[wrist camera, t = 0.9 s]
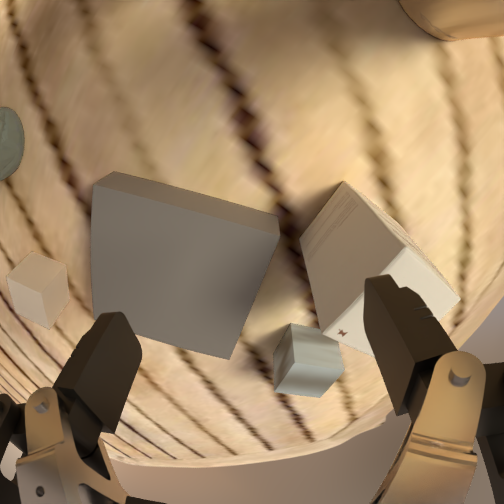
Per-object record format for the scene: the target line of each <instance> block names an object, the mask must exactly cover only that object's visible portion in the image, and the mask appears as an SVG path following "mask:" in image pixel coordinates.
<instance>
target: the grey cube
mask: <svg viewBox="0 0 504 504" xmlns="http://www.w3.org/2000/svg"><path fill="white" fill-rule="evenodd" d="M273 364H274V392H279V393H285V394H293V395H300V396H309V397H318V398H320V397H321V396H322V395H323V394H324V393H325V392H326V391H327V390H328V389H329V387H330V386H331V385H332V384H333V383H334V382H335V381H336V380H337V378H338V377H339V376H340V375H341V374H342V373H343V371H344V370H345V369H344V365H343V360H342V356H341V352H340V348H339V344H338V341H336V340H334V339H332V338H329V337H327V336H325V335H322V333H321V329H316V328H312V327H307V326H302V325H298V324H293V323H291V324H290V325H289V327H288V329H287V331H286V333H285V334H284V336H283V338H282V340H281V342H280V343H279V345H278V347H277V349H276V350H275V352H274V354H273Z"/></svg>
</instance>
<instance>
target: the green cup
mask: <svg viewBox="0 0 504 504" xmlns="http://www.w3.org/2000/svg"><path fill="white" fill-rule="evenodd" d="M23 152H24V131H23V127H22V124H21V121H20V119H19V117H18V115H17V114H16V113H15V112H14V111H13V110H12V109H10V108H5V107H1V108H0V181H1V180H3V179H5V178H6V177H8V176H10V175H11V174H12V173H14V172H15V171H16V169H17V168H18V166H19V165H20V162H21V160H22V156H23Z"/></svg>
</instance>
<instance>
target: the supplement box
mask: <svg viewBox="0 0 504 504" xmlns="http://www.w3.org/2000/svg"><path fill="white" fill-rule="evenodd" d="M299 241H300V245H301V249H302V253H303V257H304V261H305V265H306V269H307V273H308V277H309V281H310V285H311V290H312V294H313V298H314V302H315V307H316V311H317V315H318V320H319V325H320V329H321V333H322V335H325V336H327V337H329V338H332V339H334V340H336V341H338V342H340V343H342V344H344V345H347V346H349V347H351V348H354V349H356V350H358V351H360V352H363V353H365V354H367V355H370V356H372V357H374V358H375V356H374V354H373V351H372V349H371V346H370V344H369V341H368V339H367V336H366V334H365V330H364V323H363V310H364V284H365V279H366V278H369V277H374V276H379V275H385V274H390V275H391V276H392V278H393V279H394V281H395V282H396V283H397V285H398V286H399V288H401V287H406V286H407V287H408V288H410V289H411V290H413V291H414V292H416V293H418V294H419V295H420V296H421V298H422V299H423V301H424V302H425V303H426V305H427V308H428V307H429V309H430V310H431V312H432V313H433V316H434V317H436V319H437V320H438V322H439V321H440V320H441V319H442V318H443V317H444V316H445V315H446V314H447V313H448V312H449V311H450V310H451V309H452V308H453V307H454V306H455V305H456V304H457V303H458V302H459V301H460V299H461V298H460V297H459V295H458V294H457V293H456V291H455V290H454V289H453V287H452V286H451V285H450V284H449V282H448V281H447V280H446V279H445V277H444V276H443V275H442V274H441V272H440V271H439V270H438V269H437V268H436V266H435V265H434V264H433V263H432V262H431V261H430V259H429V258H428V257H427V256H426V255H425V254H424V252H423V251H422V250H421V249H420V248H419V246H418V245H417V244H416V243H415V242H414V241H413V239H412V238H411V237H410V236H409V235H408V234H407V233H406V231H405V230H404V229H403V228H402V227H401V226H400V225H399V224H398V223H397V222H396V221H395V220H394V219H393V218H391V217H390V216H389V215H388V214H387V213H385V212H384V211H383V210H382V209H381V208H379V207H378V206H377V205H376V204H374V203H373V202H372V201H371V200H369V199H368V198H367V197H366V196H364V195H363V194H362V193H360V192H359V191H358V190H356V189H355V188H354V187H353V186H351V185H350V184H348V183H347V182H345V181H343V182H342V184H341V185H340V186H339V188H338V189H337V190H336V191H335V193H334V194H333V195H332V197H331V198H330V199H329V200H328V202H327V203H326V204H325V206H324V207H323V208H322V210H321V211H320V212H319V214H318V215H317V216H316V217H315V219H314V220H313V221H312V223H311V224H310V225H309V227H308V228H307V229H306V230H305V232H304V233H303V234H302V236H301V237H300V238H299Z"/></svg>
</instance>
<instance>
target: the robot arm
mask: <svg viewBox="0 0 504 504" xmlns="http://www.w3.org/2000/svg"><path fill="white" fill-rule="evenodd" d="M398 1H399V3H400V4H401V6H402V7H403V9H404V11H405V12H406V13H407V14H408V16H409V17H410V18H411V19H412V20H413V21H414V22H415V23H416V24H417V25H418V26H419V27H420V28H422V29H423V30H424V31H426V32H427V33H429V34H431V35H432V36H434V37H436V38H439V39H442V40H447V41H456V40H464V39H473V38H485V37H499V36H504V0H398ZM363 323H364V330H365V334H366V336H367V339H368V341H369V344H370V346H371V349H372V351H373V354H374V356H375V359H376V361H377V364H378V367H379V369H380V372H381V374H382V377H383V380H384V382H385V385H386V388H387V390H388V393H389V396H390V399H391V402H392V404H393V407H394V410H395V413H396V416H399V415H403V414H406V413H409V415H410V418H411V424H410V426H409V428H408V430H407V433H406V435H405V438H404V440H403V442H402V444H401V447H400V449H399V451H398V453H397V455H396V457H395V460H394V461H393V463H392V465H391V467H390V469H389V471H388V473H387V475H386V477H385V479H384V480H383V482H382V484H381V485H380V487H379V489H378V490H377V492H376V494H375V495H374V497H373V498H372V500H371V502H370V503H369V504H464V502H465V499H466V496H467V494H468V491H469V488H470V485H471V482H472V479H473V476H474V473H475V469H476V466H477V454H476V453H473V443H474V440H475V437H476V438H477V441H478V444H479V446H480V450H481V453H482V456H483V459H484V462H485V465H486V469H487V472H488V476H489V479H490V483H491V487H492V490H493V495H494V499H495V503H496V504H504V362H502V363H493V364H482V362H481V361H480V360H479V359H478V358H477V357H476V356H474V355H472V354H470V353H467V352H463V351H458V350H457V349H456V347H455V346H454V344H453V343H452V341H451V340H450V338H449V336H448V335H447V333H446V332H445V330H444V329H443V328H442V326H441V325H440V323H439V322H438V320H437V319H436V317H434V316H433V313H432V312H431V310H430V309H429V307H428V308H427V305H426V303H425V302H424V301H423V299H422V298H421V296H420V295H419V294H418V293H416V292H414V291H413V290H411V289H410V288H408V287H407V286H406V287H401V288H399V286H398V285H397V283H396V282H395V281H394V279H393V278H392V276H391V275H390V274H385V275H379V276H374V277H369V278H366V279H365V284H364V310H363ZM141 360H142V349H141V345H140V343H139V341H138V339H137V337H136V335H135V334H134V332H133V330H132V328H131V326H130V324H129V322H128V320H127V318H126V316H125V315H124V313H122V312H120V311H119V312H107V313H101V314H100V315H99V317H98V318H97V320H96V321H95V323H94V324H93V326H92V328H91V329H90V330H89V331H88V332H87V333H86V334H85V335H83V336H82V338H81V339H80V341H79V343H78V344H77V346H76V349H74V351H73V352H72V354H71V357H69V359H68V361H67V362H66V364H65V366H64V368H63V369H62V371H61V373H60V374H59V376H58V378H57V380H56V381H55V383H54V385H53V387H52V388H51V387H43V388H40V389H38V390H36V391H35V392H34V393H33V394H32V395H31V396H30V397H29V399H28V400H27V402H26V403H23V404H16V403H15V402H14V401H13V400H12V399H11V397H10V396H9V395H8V394H0V463H1V460H2V458H3V455H4V453H5V450H6V448H7V446H8V443H9V441H11V442H12V443H13V444H14V445H15V446H16V447H17V448H18V449H20V450H21V451H22V452H23V454H22V456H21V458H18V459H17V461H16V473H15V476H14V479H13V480H12V481H10V480H8V479H7V478H5V477H4V476H3V474H2V473H1V470H0V504H166V503H161V502H155V501H150V500H144V499H140V498H135V497H131V496H130V495H129V494H128V493H127V492H126V491H125V490H124V489H123V488H122V486H121V484H120V483H119V481H118V479H117V476H116V474H115V471H114V469H113V466H112V464H111V461H110V459H109V456H108V454H107V451H106V448H105V445H104V443H103V441H102V439H101V438H99V436H100V433H101V432H106V433H111V434H115V431H116V428H117V425H118V422H119V419H120V416H121V413H122V411H123V408H124V405H125V402H126V400H127V397H128V394H129V391H130V389H131V386H132V383H133V381H134V378H135V376H136V373H137V370H138V368H139V365H140V363H141Z"/></svg>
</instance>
